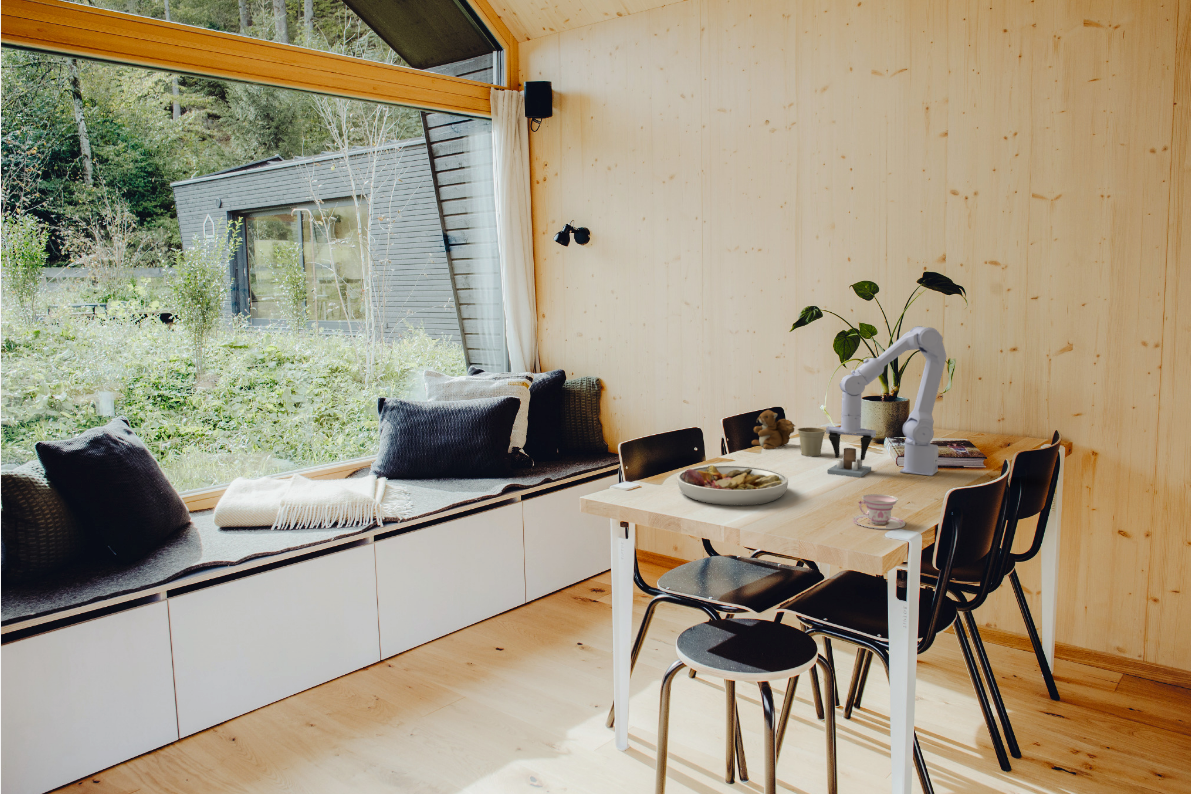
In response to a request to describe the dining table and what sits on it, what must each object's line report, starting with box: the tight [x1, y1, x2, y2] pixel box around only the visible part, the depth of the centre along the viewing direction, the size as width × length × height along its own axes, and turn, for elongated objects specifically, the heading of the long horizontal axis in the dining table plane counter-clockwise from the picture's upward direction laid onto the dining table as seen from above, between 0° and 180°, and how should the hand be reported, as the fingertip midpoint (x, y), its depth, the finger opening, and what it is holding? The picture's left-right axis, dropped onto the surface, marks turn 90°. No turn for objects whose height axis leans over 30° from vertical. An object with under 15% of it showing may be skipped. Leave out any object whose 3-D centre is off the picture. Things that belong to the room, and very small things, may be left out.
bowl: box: [676, 464, 789, 506], centre depth 227 cm, size 30×30×8 cm
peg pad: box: [827, 457, 872, 478], centre depth 252 cm, size 10×11×4 cm
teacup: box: [852, 493, 906, 530], centre depth 198 cm, size 12×12×6 cm
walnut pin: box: [843, 447, 857, 470], centre depth 251 cm, size 4×4×6 cm
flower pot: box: [796, 426, 826, 457], centre depth 277 cm, size 9×9×9 cm
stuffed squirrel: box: [751, 409, 796, 450], centre depth 293 cm, size 10×14×13 cm
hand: (849, 458), depth 251 cm, fingers open, 7 cm apart
